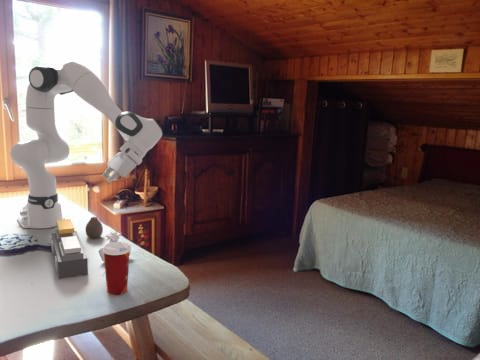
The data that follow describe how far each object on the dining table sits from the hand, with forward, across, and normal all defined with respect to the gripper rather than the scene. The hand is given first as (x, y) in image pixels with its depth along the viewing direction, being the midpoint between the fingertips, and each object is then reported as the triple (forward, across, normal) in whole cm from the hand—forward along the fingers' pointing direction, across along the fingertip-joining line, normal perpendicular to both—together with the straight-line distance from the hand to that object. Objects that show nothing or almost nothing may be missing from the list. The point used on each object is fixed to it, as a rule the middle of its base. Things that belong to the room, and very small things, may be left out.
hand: (105, 179), depth 156 cm
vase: (+22, -13, +18) cm, 31 cm away
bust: (+20, +13, +20) cm, 31 cm away
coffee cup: (+23, +39, +17) cm, 48 cm away
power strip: (+30, +9, +9) cm, 33 cm away
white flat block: (+25, +17, +3) cm, 30 cm away
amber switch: (+24, 0, +2) cm, 24 cm away
